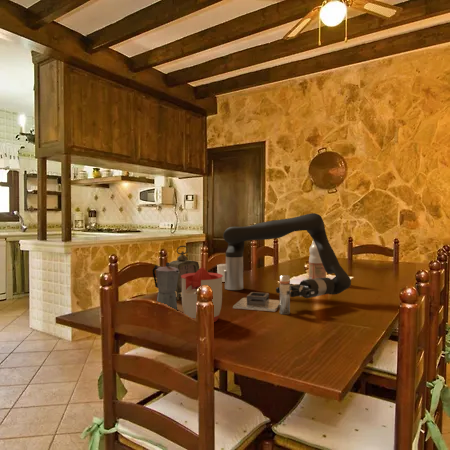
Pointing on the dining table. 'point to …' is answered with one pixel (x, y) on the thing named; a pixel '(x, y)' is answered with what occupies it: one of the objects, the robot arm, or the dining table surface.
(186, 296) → the citrus juicer
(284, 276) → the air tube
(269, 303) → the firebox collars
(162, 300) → the moka pot
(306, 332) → the dining table surface
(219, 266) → the white cup
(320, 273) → the fruit juice
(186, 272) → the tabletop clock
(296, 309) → the dining table surface
